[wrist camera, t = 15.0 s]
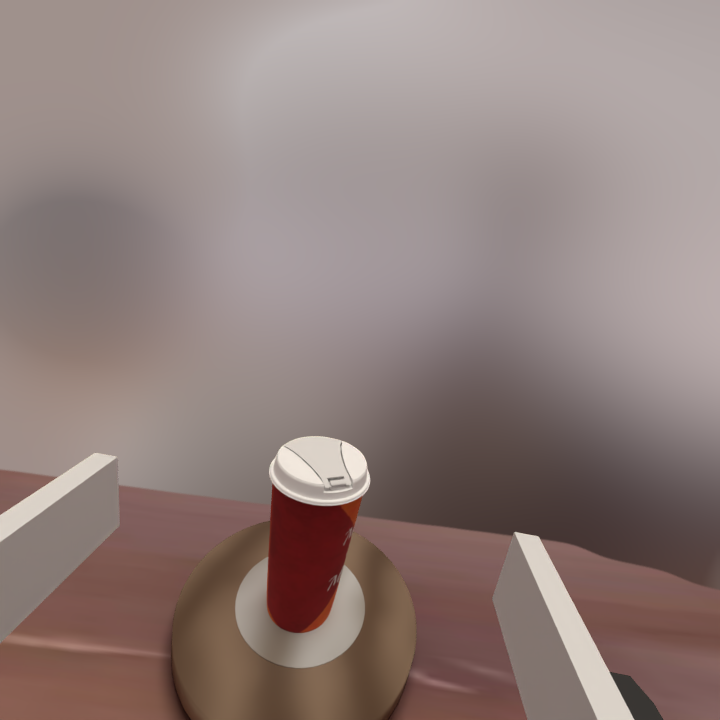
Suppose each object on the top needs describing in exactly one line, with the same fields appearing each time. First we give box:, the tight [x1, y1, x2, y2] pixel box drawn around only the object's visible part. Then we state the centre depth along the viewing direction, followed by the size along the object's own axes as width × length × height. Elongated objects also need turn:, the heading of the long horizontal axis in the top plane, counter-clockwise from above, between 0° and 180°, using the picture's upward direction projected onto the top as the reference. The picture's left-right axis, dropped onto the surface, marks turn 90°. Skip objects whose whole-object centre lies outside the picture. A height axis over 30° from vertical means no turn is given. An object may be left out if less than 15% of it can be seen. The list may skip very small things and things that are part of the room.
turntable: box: [171, 521, 416, 720], centre depth 32 cm, size 20×20×2 cm
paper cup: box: [267, 436, 370, 633], centre depth 30 cm, size 8×8×14 cm
